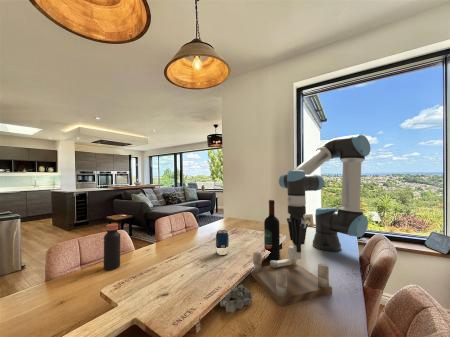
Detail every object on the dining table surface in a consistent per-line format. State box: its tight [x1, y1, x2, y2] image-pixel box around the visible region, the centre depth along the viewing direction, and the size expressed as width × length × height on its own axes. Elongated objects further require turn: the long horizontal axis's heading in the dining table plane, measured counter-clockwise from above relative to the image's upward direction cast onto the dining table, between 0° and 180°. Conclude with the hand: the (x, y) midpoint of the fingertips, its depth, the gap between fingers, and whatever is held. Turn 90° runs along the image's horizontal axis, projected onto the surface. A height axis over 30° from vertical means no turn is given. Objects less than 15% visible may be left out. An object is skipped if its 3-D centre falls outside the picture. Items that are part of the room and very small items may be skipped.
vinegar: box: [103, 222, 121, 271], centre depth 96 cm, size 7×7×20 cm
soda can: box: [215, 229, 230, 248], centre depth 112 cm, size 7×7×12 cm
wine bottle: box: [263, 199, 281, 263], centre depth 104 cm, size 8×8×30 cm
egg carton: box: [219, 284, 254, 313], centre depth 69 cm, size 11×8×4 cm
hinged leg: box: [269, 245, 298, 268], centre depth 92 cm, size 13×4×7 cm, turn 110°
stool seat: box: [250, 251, 333, 307], centre depth 82 cm, size 23×23×10 cm
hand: (297, 258), depth 90 cm, fingers closed
